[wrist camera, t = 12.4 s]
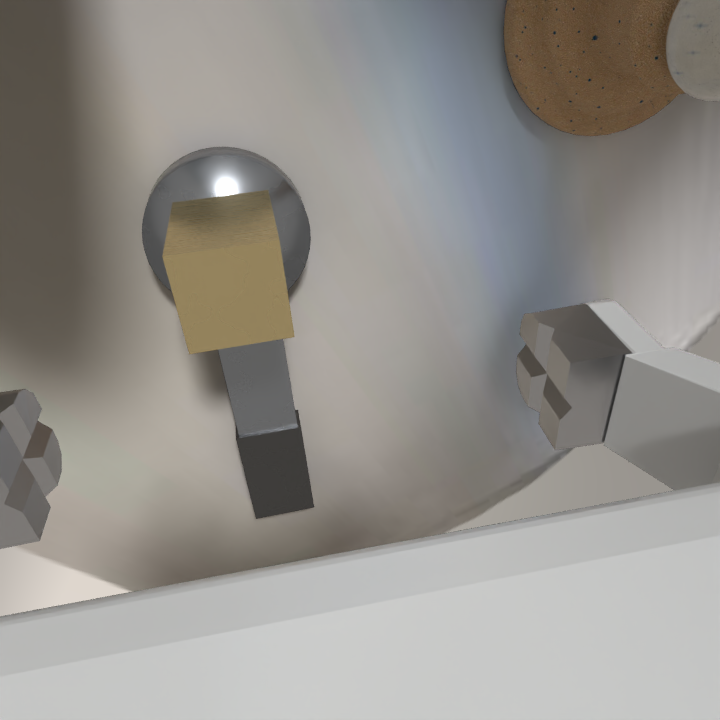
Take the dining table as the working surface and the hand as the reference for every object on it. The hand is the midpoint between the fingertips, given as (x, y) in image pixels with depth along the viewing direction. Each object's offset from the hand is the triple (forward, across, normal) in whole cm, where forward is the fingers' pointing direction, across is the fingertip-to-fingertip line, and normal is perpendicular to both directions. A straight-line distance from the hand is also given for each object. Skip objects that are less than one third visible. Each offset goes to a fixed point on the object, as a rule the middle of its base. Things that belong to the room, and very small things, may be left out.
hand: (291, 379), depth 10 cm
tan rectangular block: (+23, +3, +8) cm, 25 cm away
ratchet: (+25, +3, +16) cm, 30 cm away
